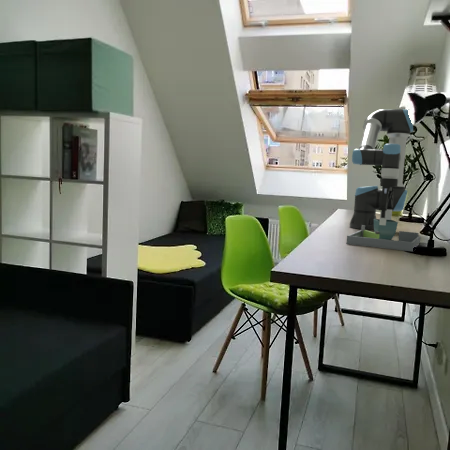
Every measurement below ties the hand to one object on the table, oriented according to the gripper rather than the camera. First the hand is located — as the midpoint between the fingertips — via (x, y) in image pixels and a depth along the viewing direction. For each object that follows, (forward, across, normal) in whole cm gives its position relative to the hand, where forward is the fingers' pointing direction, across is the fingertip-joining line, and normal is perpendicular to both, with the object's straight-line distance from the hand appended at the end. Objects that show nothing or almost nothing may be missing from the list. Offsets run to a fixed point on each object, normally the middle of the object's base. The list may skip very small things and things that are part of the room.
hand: (385, 224), depth 219 cm
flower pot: (+7, -1, 0) cm, 7 cm away
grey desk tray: (+7, +14, +2) cm, 16 cm away
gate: (+7, +9, -4) cm, 12 cm away
